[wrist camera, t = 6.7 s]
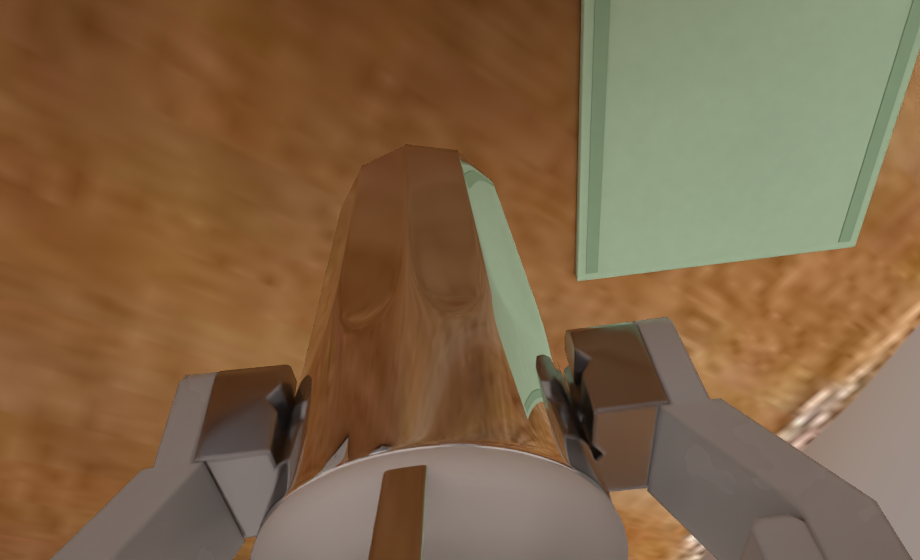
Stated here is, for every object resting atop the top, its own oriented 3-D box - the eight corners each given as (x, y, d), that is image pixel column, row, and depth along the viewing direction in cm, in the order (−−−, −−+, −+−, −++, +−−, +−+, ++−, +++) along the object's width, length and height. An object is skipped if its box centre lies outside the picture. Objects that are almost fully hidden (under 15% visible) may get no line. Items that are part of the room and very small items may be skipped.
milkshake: (513, 51, 13) (702, 581, 5) (535, 276, 16) (667, 798, 8) (269, 92, 13) (85, 668, 5) (341, 307, 16) (295, 846, 9)
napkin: (584, -162, 20) (588, -160, 20) (994, -208, 20) (1006, -207, 20) (575, 276, 30) (577, 282, 30) (850, 241, 30) (855, 247, 30)
